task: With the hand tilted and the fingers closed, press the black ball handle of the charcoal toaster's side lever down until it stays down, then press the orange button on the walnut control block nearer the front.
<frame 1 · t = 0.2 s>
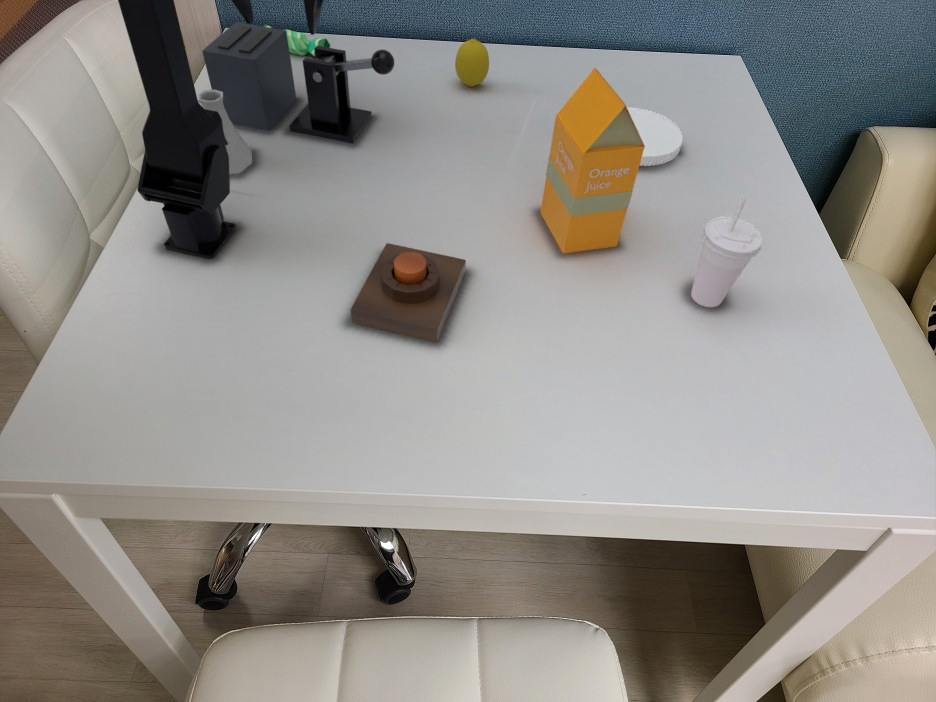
hand: (281, 28, 91), 15 cm above the table, tool pointing down, fingers open, 9 cm apart
toaster: (259, 111, 104), on the table
smoothie: (705, 297, 81), on the table
lever bracket: (332, 125, 102), on the table
lemon: (470, 88, 113), on the table
candy: (295, 53, 118), on the table
start button: (410, 268, 75), point 4 cm above the table, slide at 0.1 cm
toaster lever: (354, 65, 94), point 10 cm above the table, hinge at 15.0°
plastic lid: (632, 146, 103), on the table
control block: (410, 297, 79), on the table
orange juice: (577, 230, 89), on the table
flask: (227, 163, 95), on the table
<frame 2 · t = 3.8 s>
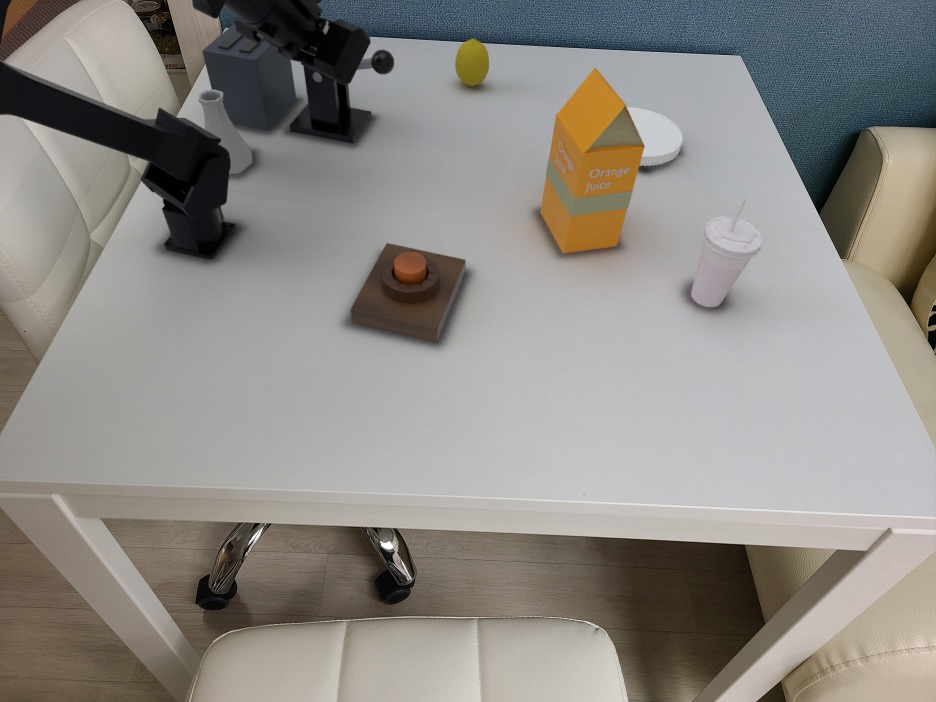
hand: (340, 66, 87), 13 cm above the table, tool tilted 45°, fingers closed
nothing on the table moved.
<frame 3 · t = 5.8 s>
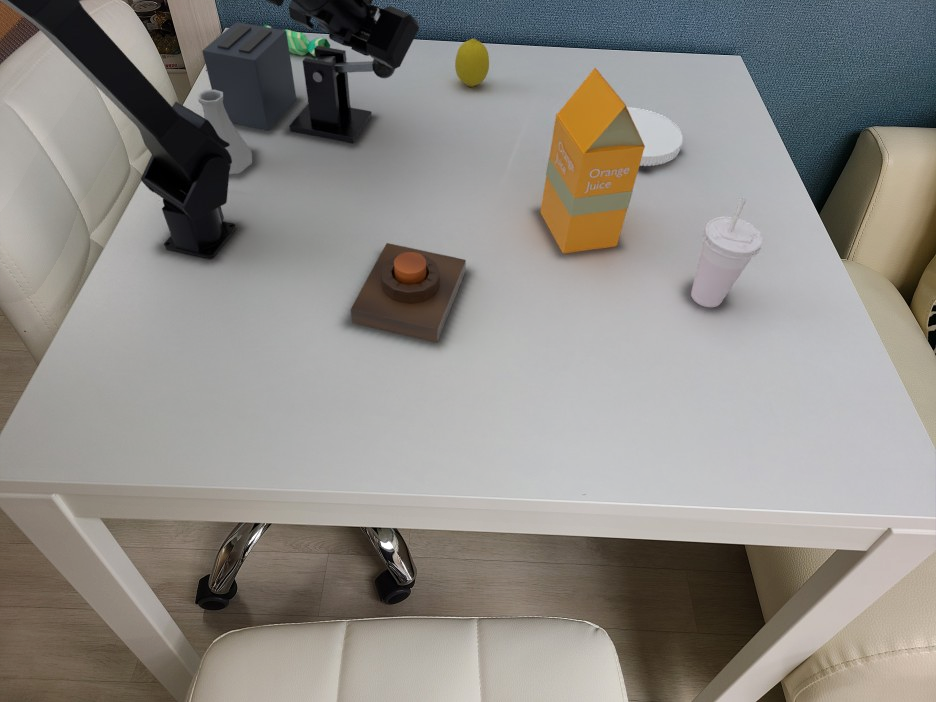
hand: (386, 50, 92), 13 cm above the table, tool tilted 45°, fingers closed
toaster lever: (354, 66, 94), point 10 cm above the table, hinge at 11.5°, touching gripper
everything else where it was.
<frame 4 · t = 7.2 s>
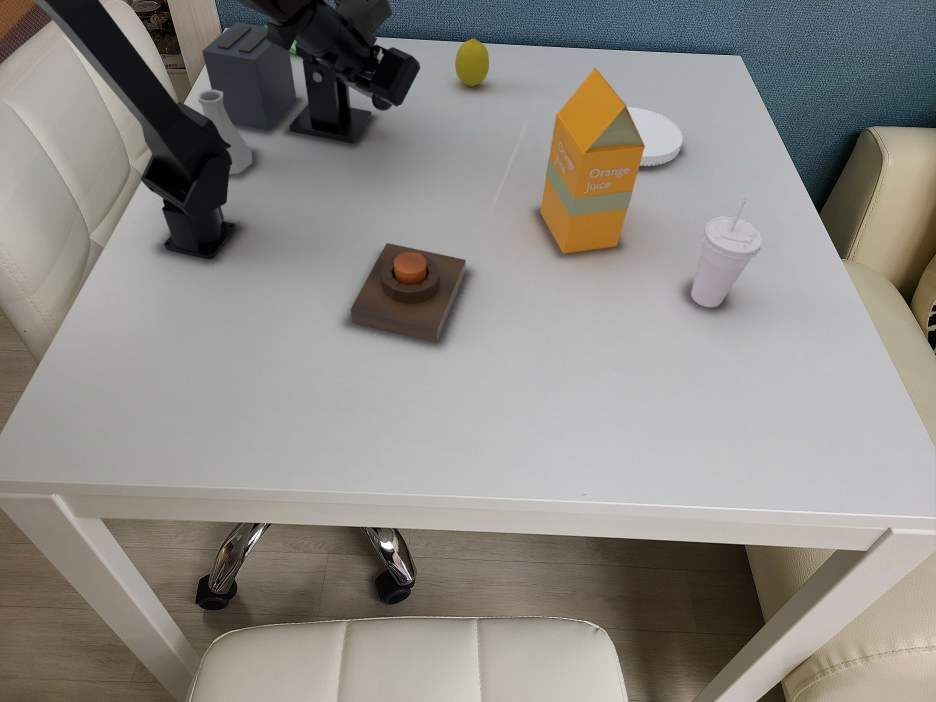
hand: (388, 85, 96), 8 cm above the table, tool tilted 45°, fingers closed
toaster lever: (355, 83, 96), point 7 cm above the table, hinge at -20.5°, touching gripper
everything else where it was.
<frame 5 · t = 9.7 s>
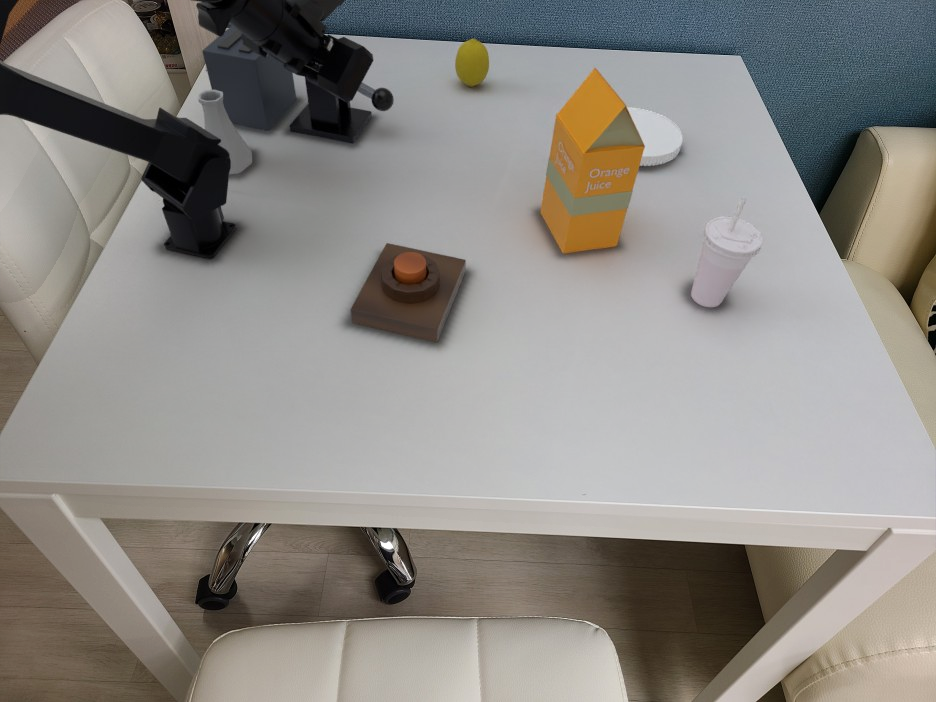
hand: (345, 80, 88), 12 cm above the table, tool tilted 45°, fingers closed
toaster lever: (354, 84, 96), point 7 cm above the table, hinge at -21.0°
everything else where it was.
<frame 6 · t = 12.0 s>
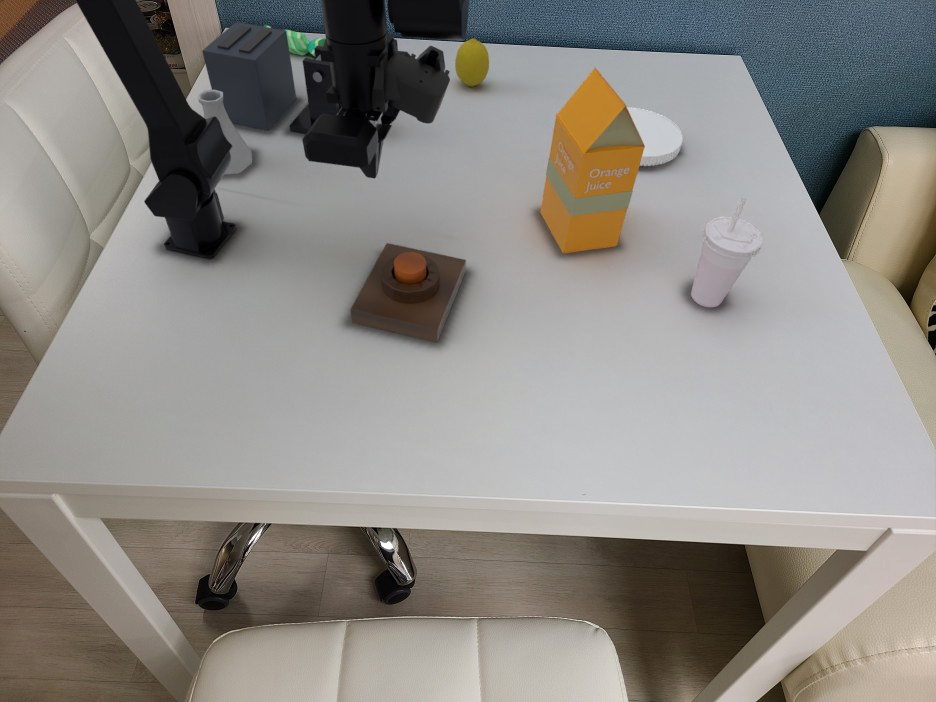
hand: (372, 176, 74), 12 cm above the table, tool pointing down, fingers closed
nothing on the table moved.
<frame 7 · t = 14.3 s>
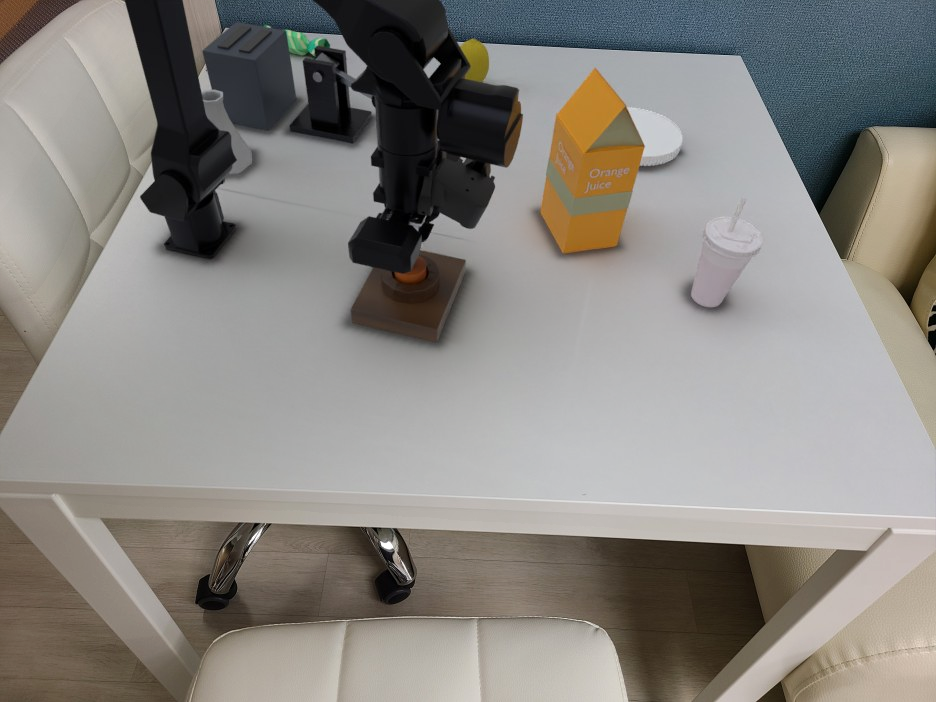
hand: (409, 264, 75), 5 cm above the table, tool pointing down, fingers closed, pressing on start button
start button: (410, 270, 76), point 4 cm above the table, slide at -0.2 cm, touching gripper
everything else where it was.
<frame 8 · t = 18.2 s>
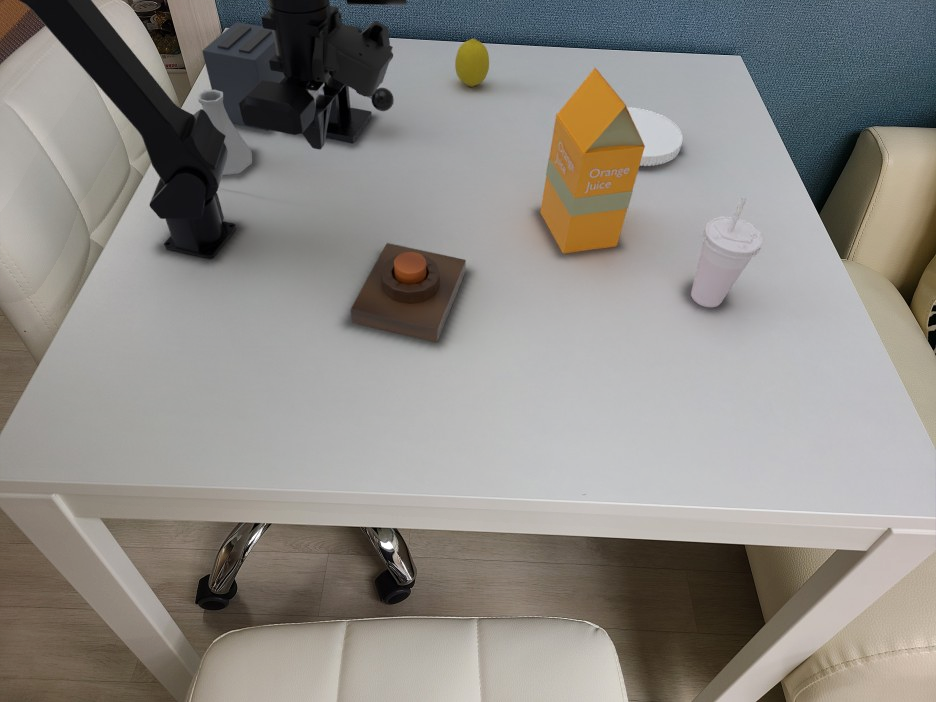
hand: (318, 147, 75), 13 cm above the table, tool pointing down, fingers closed
start button: (410, 268, 75), point 5 cm above the table, slide at 0.1 cm
everything else where it was.
at the end: toaster lever at -21° (first picture: +15°); start button pushed in 1.1 cm at the most during the clip, back to where it started at the end; start button slide at 0.1 cm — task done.
